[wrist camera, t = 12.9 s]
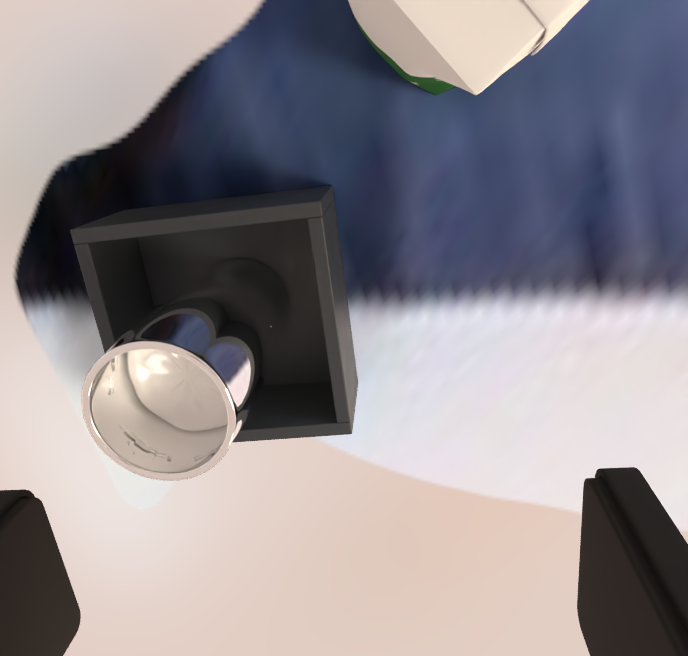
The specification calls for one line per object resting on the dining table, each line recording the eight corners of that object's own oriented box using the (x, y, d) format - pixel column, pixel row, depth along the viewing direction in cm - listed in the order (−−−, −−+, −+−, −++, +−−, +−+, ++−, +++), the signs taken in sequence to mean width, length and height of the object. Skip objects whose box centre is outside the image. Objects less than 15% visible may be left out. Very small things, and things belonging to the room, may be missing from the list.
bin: (123, 209, 37) (69, 229, 31) (332, 184, 36) (320, 200, 30) (171, 398, 42) (131, 449, 36) (358, 383, 41) (352, 434, 34)
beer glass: (201, 355, 40) (98, 488, 26) (181, 256, 37) (56, 342, 23) (302, 348, 39) (252, 482, 25) (288, 246, 37) (224, 330, 23)
